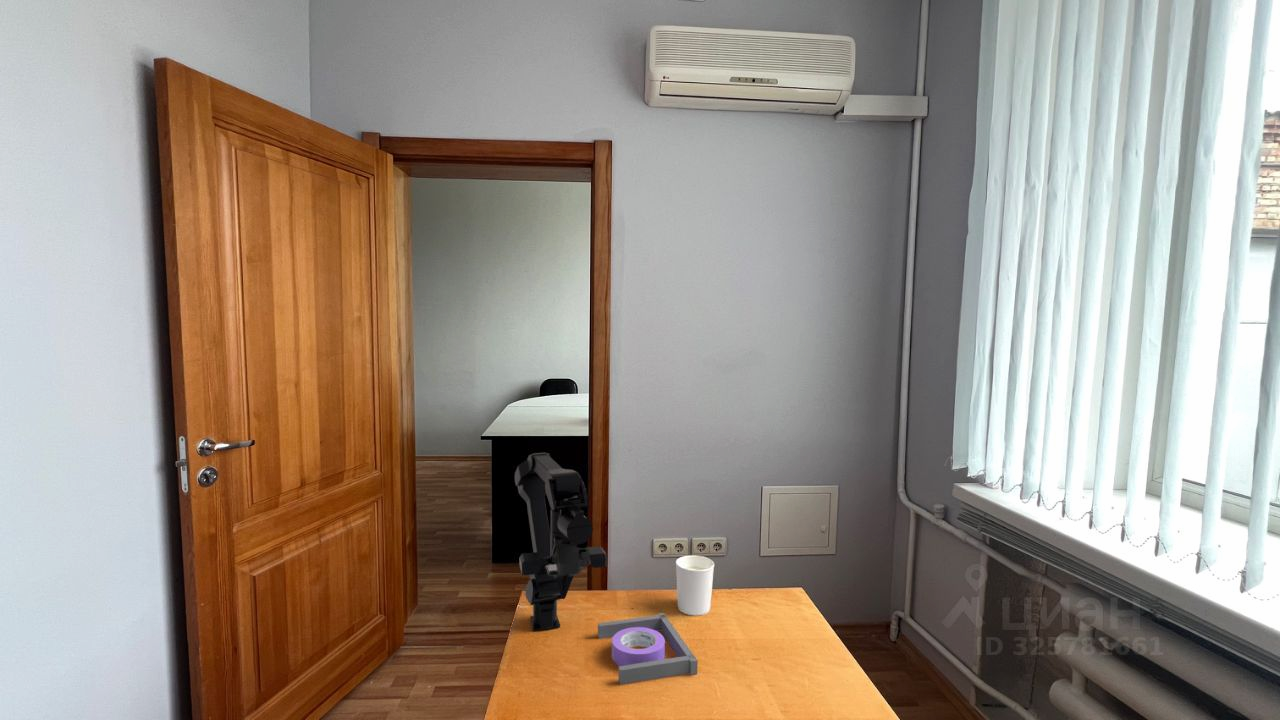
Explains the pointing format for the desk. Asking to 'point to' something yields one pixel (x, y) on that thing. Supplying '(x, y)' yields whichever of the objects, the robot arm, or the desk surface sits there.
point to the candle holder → (694, 584)
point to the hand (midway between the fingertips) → (563, 597)
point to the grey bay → (658, 668)
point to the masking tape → (637, 638)
